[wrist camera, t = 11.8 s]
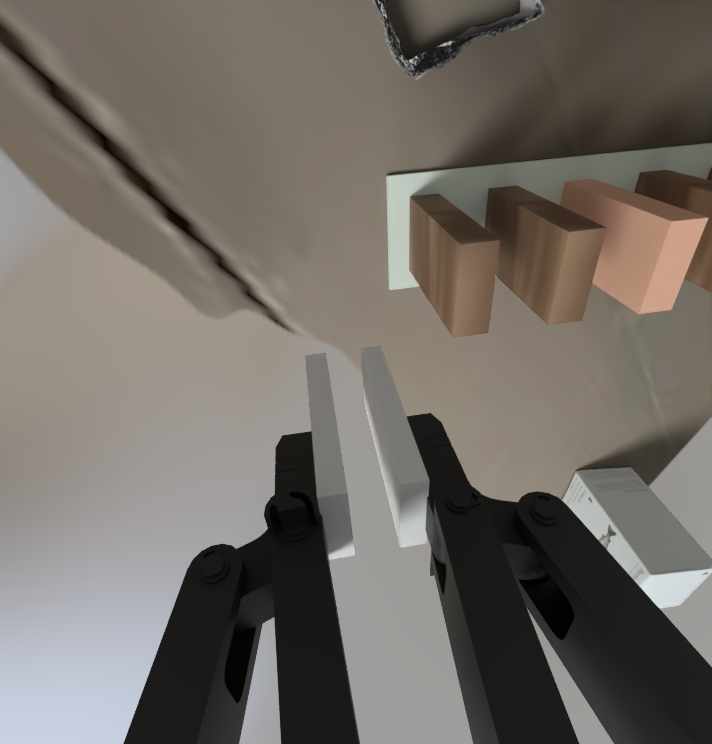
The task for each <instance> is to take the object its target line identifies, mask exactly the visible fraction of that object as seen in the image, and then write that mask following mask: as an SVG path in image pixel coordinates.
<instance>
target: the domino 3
mask: <svg viewBox="0 0 712 744" xmlns="http://www.w3.org/2000/svg"><path fill="white" fill-rule="evenodd" d="M560 206H562V207H564V208H566V209H568V210H570V211H572V212H575V213H577V214H579V215H581V216H583V217H585V218H587V219H589V220H592V221H594V222H596V223H598V224H600V225H602V226H604V227H606V228H607V229H606V233H605V237H604V240H603V244H602V248H601V252H600V255H599V259H598V263H597V266H596V270H595V274H594V277H593V281H592V283H593V284H595V285H596V286H598V287H599V288H601V289H602V290H604V291H605V292H607V293H608V294H610V295H611V296H613V297H614V298H616V299H617V300H619V301H620V302H622V303H623V304H625V305H626V306H627V307H629V308H630V309H632V310H633V311H635V312H636V313H638V314H643V313H651V312H659V311H666V310H671V309H672V307H673V304H674V302H675V299H676V297H677V294H678V292H679V289H680V287H681V285H682V282H683V280H684V277H685V275H686V272H687V270H688V267H689V265H690V262H691V260H692V257H693V255H694V253H695V250H696V248H697V245H698V243H699V240H700V238H701V235H702V233H703V230H704V228H705V226H706V223H707V221H708V218H709V217H706V216H703V215H700V214H697V213H694V212H691V211H688V210H685V209H682V208H679V207H676V206H673V205H670V204H667V203H664V202H661V201H658V200H655V199H652V198H649V197H646V196H643V195H640V194H637V193H634V192H631V191H628V190H625V189H622V188H619V187H616V186H613V185H610V184H607V183H604V182H601V181H598V180H595V179H582V180H572V181H565V183H564V188H563V193H562V198H561V203H560Z"/></svg>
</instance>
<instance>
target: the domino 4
mask: <svg viewBox="0 0 712 744" xmlns="http://www.w3.org/2000/svg"><path fill="white" fill-rule="evenodd" d="M634 193H637V194H640V195H643V196H646V197H649V198H652V199H655V200H658V201H661V202H664V203H667V204H670V205H673V206H676V207H679V208H682V209H685V210H688V211H691V212H694V213H697V214H700V215H703V216H706V217H709V218H708V221H707V223H706V226H705V228H704V230H703V233H702V235H701V238H700V240H699V243H698V245H697V248H696V250H695V253H694V255H693V257H692V260H691V262H690V265H689V267H688V270H687V272H686V275H685V277H684V279H686V280H688V281H690V282H692V283H694V284H696V285H697V286H699V287H701V288H703V289H705V290H707V291H709V292H711V293H712V181H711V180H707V179H703V178H699V177H694V176H690V175H686V174H682V173H678V172H674V171H670V170H658V171H648V172H640V174H639V177H638V180H637V184H636V187H635V191H634Z"/></svg>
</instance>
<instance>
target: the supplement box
mask: <svg viewBox="0 0 712 744" xmlns="http://www.w3.org/2000/svg"><path fill="white" fill-rule="evenodd" d="M562 501H563V502H564V503H565V504H566V505H567V506H568V507H569V508H570V509H571V510H572V511H573V512H574V513H575V515H576V516H577V517H578V518H579V519H580V520H581V521H582V522H583V524H584V525H585V526H586V527H587V528H588V529H589V530H590V531H591V533H592V534H593V535H594V536H595V537H596V538H597V539H598V540H599V542H600V543H601V544H602V545H603V546H604V547H605V548H606V549H607V550H608V552H609V553H610V554H611V555H612V556H613V557H614V558H615V559H616V561H617V562H618V563H619V564H620V565H621V566H622V567H623V568H624V570H625V571H626V572H627V573H628V574H629V575H630V576H631V577H632V579H633V580H634V581H635V582H636V583H637V584H638V585H639V586H640V587H641V589H642V590H643V591H644V592H645V593H646V594H647V595H648V596H649V598H650V599H651V600H652V601H653V602H654V603H655V604H656V605H657V607H658V608H665V607H672V606H679V605H681V604H682V603H683V602H684V601H685V600H686V599H687V597H688V596H689V595H690V594H691V593H692V592H693V591H694V590H695V589H696V588H697V587H698V586H699V585H700V584H701V583H702V582H703V581H704V580H705V579H706V578H707V577H708V575H710V574H711V573H712V559H711V558H710V557H709V555H708V554H707V553H706V552H705V551H704V550H703V549H702V548H701V546H700V545H699V544H698V543H697V542H696V541H695V540H694V538H693V537H692V536H691V535H690V534H689V533H688V532H687V530H686V529H685V528H684V527H683V526H682V525H681V524H680V522H679V521H678V520H677V519H676V518H675V517H674V516H673V514H672V513H671V512H670V511H669V510H668V509H667V508H666V506H665V505H664V504H663V503H662V502H661V501H660V500H659V498H658V497H657V496H656V495H655V494H654V493H653V492H652V490H651V489H650V488H649V487H648V486H647V485H646V484H645V482H644V481H643V480H642V479H641V478H640V477H639V476H638V474H637V473H636V472H635V471H634V470H633V469H632V468H631V467H621V468H606V469H590V470H578V471H576V473H575V475H574V478H573V480H572V482H571V484H570V486H569V488H568V490H567V492H566V494H565V495H564V497H563V499H562Z"/></svg>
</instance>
